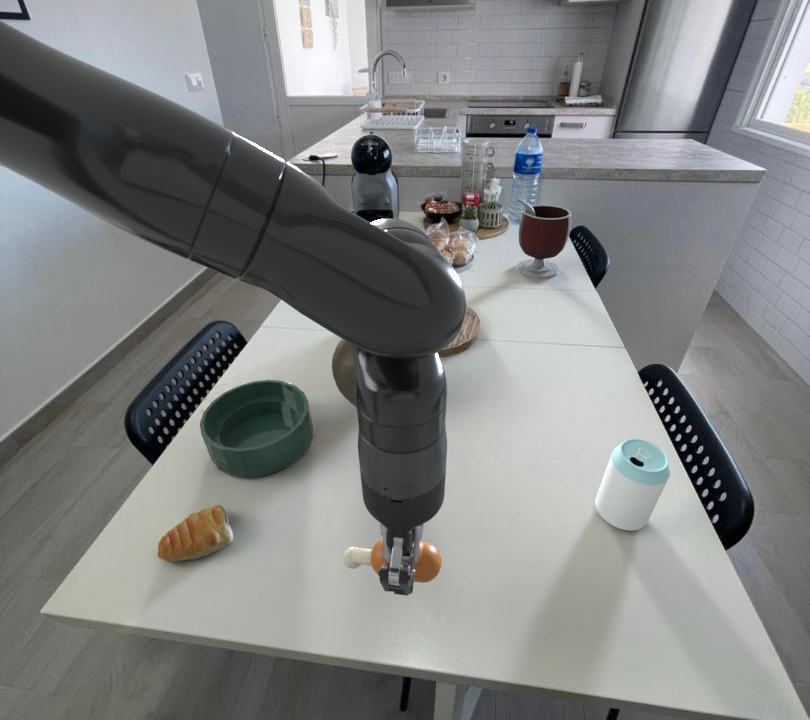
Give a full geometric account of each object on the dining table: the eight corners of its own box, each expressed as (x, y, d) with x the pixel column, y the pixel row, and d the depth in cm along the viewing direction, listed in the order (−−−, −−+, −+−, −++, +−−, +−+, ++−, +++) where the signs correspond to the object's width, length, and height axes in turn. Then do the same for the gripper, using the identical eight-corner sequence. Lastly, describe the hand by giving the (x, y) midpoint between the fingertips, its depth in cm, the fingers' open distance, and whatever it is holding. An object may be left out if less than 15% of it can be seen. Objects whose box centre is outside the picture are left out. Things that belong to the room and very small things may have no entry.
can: (650, 538, 61) (680, 480, 54) (595, 526, 62) (617, 469, 56) (642, 497, 66) (669, 440, 59) (592, 487, 68) (612, 430, 61)
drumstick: (340, 579, 48) (335, 560, 45) (348, 544, 51) (345, 525, 49) (439, 592, 47) (440, 573, 44) (442, 555, 50) (443, 536, 47)
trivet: (392, 298, 120) (392, 292, 119) (486, 309, 114) (487, 302, 113) (360, 349, 100) (359, 341, 99) (471, 365, 94) (471, 357, 93)
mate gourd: (563, 263, 136) (577, 196, 125) (559, 282, 126) (573, 210, 114) (512, 257, 141) (521, 191, 130) (504, 274, 131) (512, 205, 119)
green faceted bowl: (241, 498, 68) (231, 469, 64) (194, 440, 78) (182, 412, 74) (332, 439, 77) (328, 411, 74) (279, 395, 87) (273, 368, 84)
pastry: (164, 579, 57) (154, 562, 55) (158, 539, 62) (148, 522, 60) (238, 543, 61) (231, 527, 59) (226, 508, 66) (219, 492, 64)
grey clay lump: (418, 386, 89) (418, 320, 80) (395, 434, 78) (392, 365, 69) (353, 374, 93) (346, 310, 84) (322, 419, 82) (311, 351, 73)
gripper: (375, 403, 45) (382, 510, 55) (340, 527, 33) (357, 634, 43) (450, 409, 44) (443, 516, 54) (440, 538, 32) (434, 645, 42)
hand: (405, 568), depth 48 cm, fingers closed on drumstick, 4 cm apart
